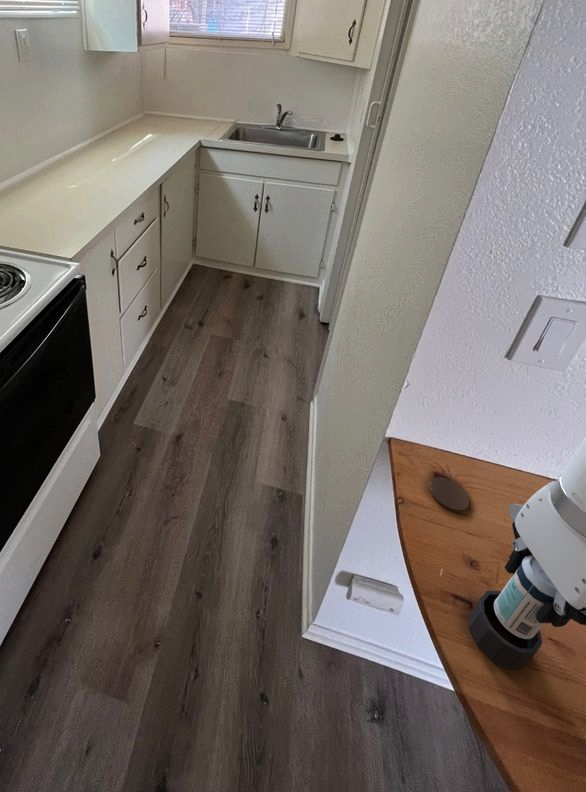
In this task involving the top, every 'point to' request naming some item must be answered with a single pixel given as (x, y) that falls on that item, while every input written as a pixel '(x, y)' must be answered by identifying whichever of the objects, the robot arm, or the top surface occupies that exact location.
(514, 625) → the beer can
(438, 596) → the top surface
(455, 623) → the top surface
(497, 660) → the ring
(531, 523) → the robot arm
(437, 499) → the coaster
